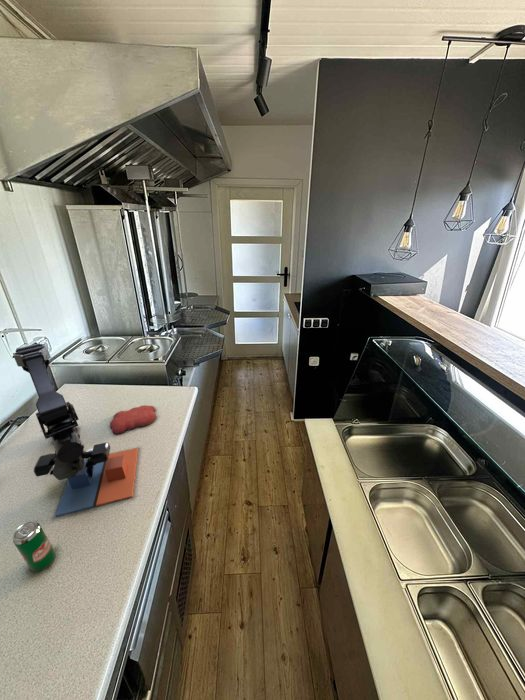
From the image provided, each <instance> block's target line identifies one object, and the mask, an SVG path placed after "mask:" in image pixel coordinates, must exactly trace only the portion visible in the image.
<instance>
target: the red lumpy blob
mask: <svg viewBox="0 0 525 700" xmlns="http://www.w3.org/2000/svg"><path fill="white" fill-rule="evenodd" d="M155 411H156V407H155V406H153V405H140V406H137V407H133V408H130V409H128V410H120V411H117V412H116V413H115V414H114V415H113V419H111V421H110V423H109V426H110V429H111V432H112V434H114V435H120V434H123V433H125V432H126V431H131V430H134V429H135V428H142V427H146V426H149V425H151V424H152V423H154V421H155V420H156V418H157V417H156V416H157V415H156V413H155Z"/></svg>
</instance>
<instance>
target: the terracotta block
mask: <svg viewBox="0 0 525 700" xmlns="http://www.w3.org/2000/svg"><path fill="white" fill-rule="evenodd" d="M105 473H106V476H107V479H108V481H109V482H110V481H114V480H119V479H123V478H126V473H127V462H126V459H125V456H124V455H121V456H117V457H112V458H108V460H107V462H106V466H105Z"/></svg>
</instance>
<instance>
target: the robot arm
mask: <svg viewBox="0 0 525 700" xmlns="http://www.w3.org/2000/svg"><path fill="white" fill-rule="evenodd" d="M12 357H13V359H14V361H15V363H16V366H17V367H21V368H22V370H23V371H24V372H26V373H28V374H29V375H30V379H31V381H32V384H33V385H34V389H35V391H36V394H37V397H38V398H37V400H36V403H35V408H36V410H37V412H36V413H35V416H36V419H37V421H38V423H39V427H40V429H41V431H42V434H43V436H44V439H45V440H47V439H50V438H51V440H52V443H53V448H54V453H48V454H44V455H40V456H39V458H38V459H37V461H36V462H35V466H34V467H33V474H34V475H35V476H36V477H42V476H47V475H50V476H53V477H54V478H55V479H57V481H63V480H66V479H67V478H73V477H75V476H76V474H77V473H78V472H79V471H80V470H83V467H84V459H86V460H87V463H86V466H85V467H87V469H88V472H89V475H90V477H92V476H93V469H94V465H96V464H97V463H102V462H106V461H107V460H108V456H109V454H110V452H111V445H110V443H108V442H102V443H97V444H94V445H93V447H91V448H89V449H88V450H84V449H85V444H82V442H81V435H80V434H78V433H77V431H78V427H79V424H78V421H79V419H80V418H79V416H78V413H77V411H76V409H75V407H74V404H72V403H71V402H69V401H66V400H65V398H64V395H63V394H61V393H59V392H57V391H56V389H55V387H54V383H53V381H52V379H51V377H50V374H49V372H48V368H49V365H50V359H51V358H52V357H51V354H50V351H49V349H48V347H47V345H46V344H45V345H43V344H42V343H40V342H38V343H34V344H30V345H29V344H28V345H26V346H25V345H24V346H21V347H17V348H16V350H15V352H13V353H12ZM45 427H46V428H47V430H46V428H45ZM67 480H68V479H67Z"/></svg>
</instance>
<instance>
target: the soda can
mask: <svg viewBox="0 0 525 700" xmlns="http://www.w3.org/2000/svg"><path fill="white" fill-rule="evenodd" d="M12 543H13V545H14V546H15V548H16V549H17V551H18V553H20V555H21V556H22V558H23V559H24V561H25V562H26V564H27V565H28V567H29V569H30V570H31V571H32V572H40V571H43V570H44V569H46V568H47V567H48V566H50V565H51V563H52V562H53V561H54V559H55V557H56V550H55V549H54V547H53V545H52V543H51V541H50V539H49V538H48V536H47V534H46V533H45V530H44V529H43V528H42V526H41V524H40V522H39V523H38V522H36V521H31V520H30V521H27V522H25V523H23V524H22V525H20V526H19V527H18V528H16V530H15V531H14V533H13V535H12Z"/></svg>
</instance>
